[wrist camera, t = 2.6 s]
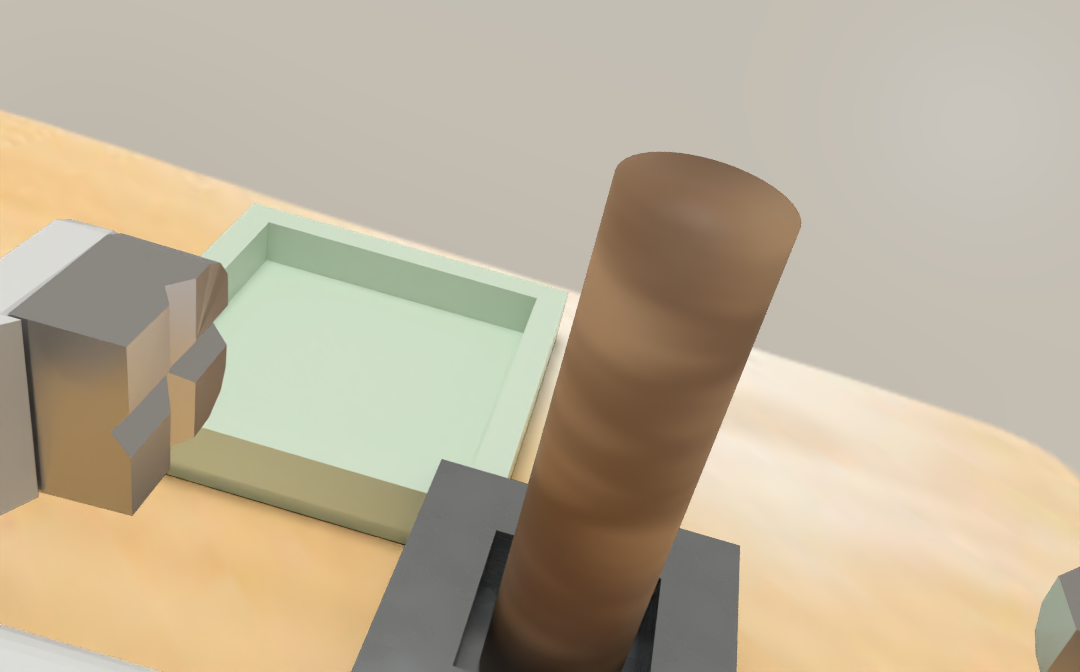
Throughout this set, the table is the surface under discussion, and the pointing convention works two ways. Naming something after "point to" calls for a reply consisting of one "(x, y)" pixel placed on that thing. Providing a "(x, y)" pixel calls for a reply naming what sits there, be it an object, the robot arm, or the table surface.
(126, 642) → the table surface
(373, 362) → the tray
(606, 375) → the dowel
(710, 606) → the socket block
